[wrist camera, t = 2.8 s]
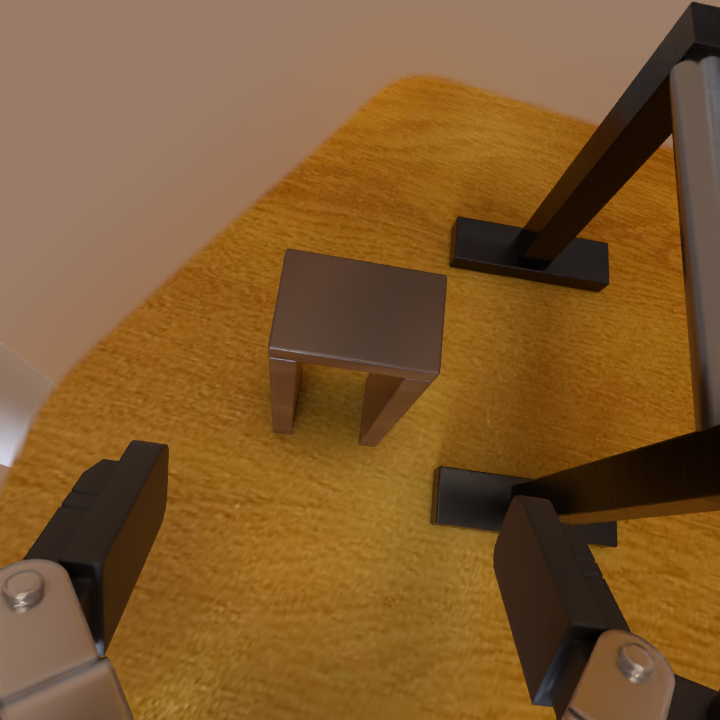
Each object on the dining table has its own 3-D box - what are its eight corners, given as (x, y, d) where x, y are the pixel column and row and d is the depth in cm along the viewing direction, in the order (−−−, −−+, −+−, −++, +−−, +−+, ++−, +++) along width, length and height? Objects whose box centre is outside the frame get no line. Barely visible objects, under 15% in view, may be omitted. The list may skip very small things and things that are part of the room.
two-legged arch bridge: (272, 432, 25) (267, 348, 15) (283, 368, 26) (286, 246, 16) (375, 447, 26) (440, 374, 15) (383, 383, 27) (448, 274, 16)
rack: (430, 524, 25) (597, 491, 12) (452, 226, 30) (587, -33, 17) (605, 547, 25) (952, 540, 12) (598, 252, 30) (839, 23, 17)
